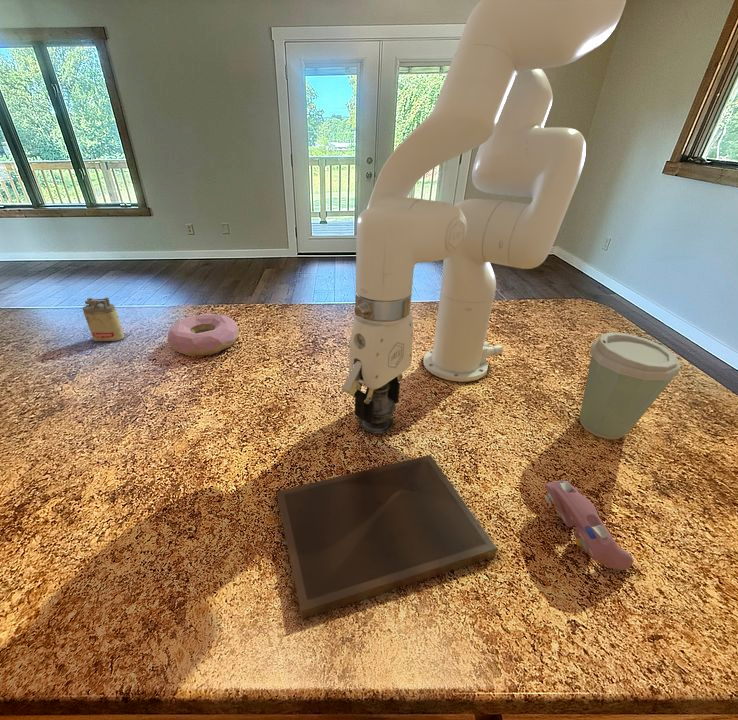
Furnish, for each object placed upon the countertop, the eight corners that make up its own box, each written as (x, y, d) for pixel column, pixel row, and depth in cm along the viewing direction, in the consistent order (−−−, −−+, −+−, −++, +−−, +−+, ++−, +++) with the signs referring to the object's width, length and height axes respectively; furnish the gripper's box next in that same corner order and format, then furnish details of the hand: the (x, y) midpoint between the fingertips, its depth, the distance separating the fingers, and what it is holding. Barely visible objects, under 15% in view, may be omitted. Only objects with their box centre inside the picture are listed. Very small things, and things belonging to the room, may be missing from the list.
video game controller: (544, 508, 49) (533, 476, 46) (579, 495, 49) (570, 461, 45) (595, 585, 41) (586, 552, 38) (638, 570, 40) (633, 536, 37)
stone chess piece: (392, 436, 59) (398, 372, 53) (355, 432, 61) (357, 368, 54) (395, 413, 64) (400, 352, 58) (361, 409, 65) (362, 348, 59)
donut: (253, 338, 89) (250, 319, 87) (202, 367, 78) (197, 346, 76) (208, 324, 97) (204, 305, 94) (155, 348, 86) (150, 328, 83)
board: (429, 462, 55) (430, 454, 54) (495, 556, 42) (497, 548, 42) (277, 499, 49) (276, 491, 49) (301, 619, 37) (301, 611, 36)
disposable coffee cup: (630, 414, 64) (669, 334, 56) (653, 458, 55) (702, 370, 47) (560, 402, 67) (587, 324, 59) (570, 442, 58) (604, 357, 50)
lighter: (90, 342, 89) (75, 301, 84) (98, 334, 92) (84, 295, 87) (121, 341, 89) (107, 301, 84) (128, 334, 92) (115, 295, 87)
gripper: (363, 333, 44) (360, 448, 53) (439, 294, 55) (426, 395, 64) (318, 315, 49) (322, 424, 58) (397, 282, 60) (390, 378, 69)
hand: (377, 408), depth 61 cm, fingers closed on stone chess piece, 5 cm apart
